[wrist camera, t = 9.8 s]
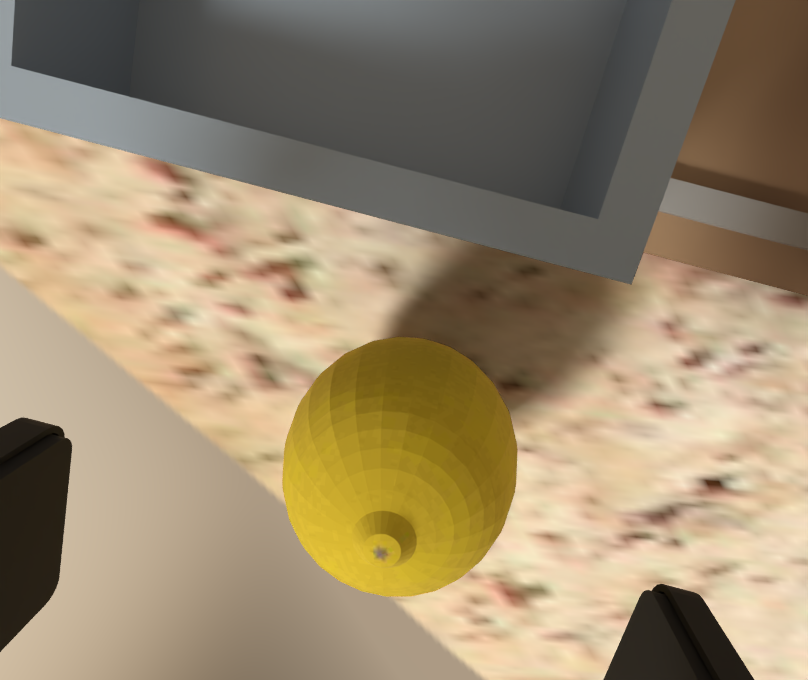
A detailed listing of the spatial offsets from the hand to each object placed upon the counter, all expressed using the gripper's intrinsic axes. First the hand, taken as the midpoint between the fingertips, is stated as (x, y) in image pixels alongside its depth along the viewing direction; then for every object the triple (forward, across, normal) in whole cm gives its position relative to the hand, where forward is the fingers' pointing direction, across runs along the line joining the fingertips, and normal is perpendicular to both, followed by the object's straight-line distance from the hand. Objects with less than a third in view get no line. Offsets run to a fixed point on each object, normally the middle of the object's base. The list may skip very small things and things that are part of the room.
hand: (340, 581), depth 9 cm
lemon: (+9, -1, 0) cm, 9 cm away
